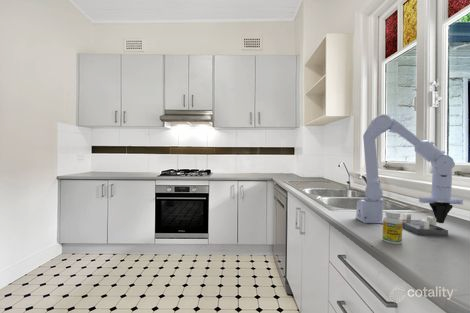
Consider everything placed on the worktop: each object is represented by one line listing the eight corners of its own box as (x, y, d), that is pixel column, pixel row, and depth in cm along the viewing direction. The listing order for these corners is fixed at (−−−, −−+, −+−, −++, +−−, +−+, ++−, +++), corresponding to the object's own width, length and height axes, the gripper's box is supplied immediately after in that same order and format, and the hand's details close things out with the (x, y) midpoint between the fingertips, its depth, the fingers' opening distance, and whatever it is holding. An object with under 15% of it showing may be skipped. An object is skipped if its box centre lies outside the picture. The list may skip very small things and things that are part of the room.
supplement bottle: (398, 240, 84) (400, 211, 84) (404, 245, 79) (405, 214, 78) (380, 237, 85) (381, 209, 85) (384, 243, 80) (385, 213, 80)
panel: (417, 234, 90) (417, 221, 90) (395, 224, 103) (396, 212, 103) (447, 236, 89) (448, 222, 89) (422, 225, 102) (422, 213, 102)
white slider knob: (431, 224, 95) (432, 218, 95) (426, 222, 97) (427, 216, 97) (436, 225, 95) (436, 218, 95) (431, 223, 97) (431, 216, 97)
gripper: (429, 187, 92) (427, 224, 92) (470, 188, 91) (469, 226, 91) (416, 184, 99) (414, 219, 99) (454, 186, 98) (453, 221, 99)
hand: (439, 222), depth 96 cm, fingers closed
